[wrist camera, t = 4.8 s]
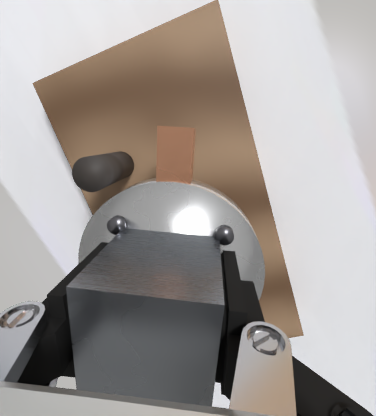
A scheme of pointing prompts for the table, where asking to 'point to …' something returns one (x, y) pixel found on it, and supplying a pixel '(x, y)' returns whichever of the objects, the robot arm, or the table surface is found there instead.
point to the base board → (169, 116)
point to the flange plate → (158, 282)
